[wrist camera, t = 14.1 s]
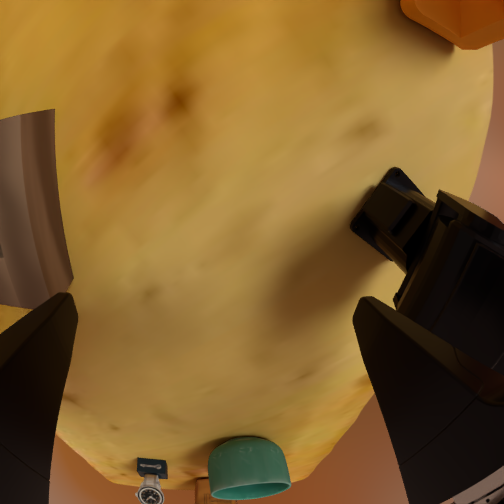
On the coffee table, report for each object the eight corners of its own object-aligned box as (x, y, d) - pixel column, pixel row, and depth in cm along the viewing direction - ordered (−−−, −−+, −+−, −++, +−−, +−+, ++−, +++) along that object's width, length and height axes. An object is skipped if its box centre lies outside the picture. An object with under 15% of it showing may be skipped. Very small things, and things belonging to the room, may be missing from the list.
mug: (204, 431, 36) (208, 487, 28) (286, 425, 39) (300, 477, 30) (208, 463, 44) (212, 504, 36) (271, 458, 47) (280, 498, 38)
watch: (164, 457, 41) (165, 508, 32) (168, 468, 45) (169, 513, 36) (135, 454, 40) (133, 504, 31) (141, 466, 44) (141, 510, 35)
